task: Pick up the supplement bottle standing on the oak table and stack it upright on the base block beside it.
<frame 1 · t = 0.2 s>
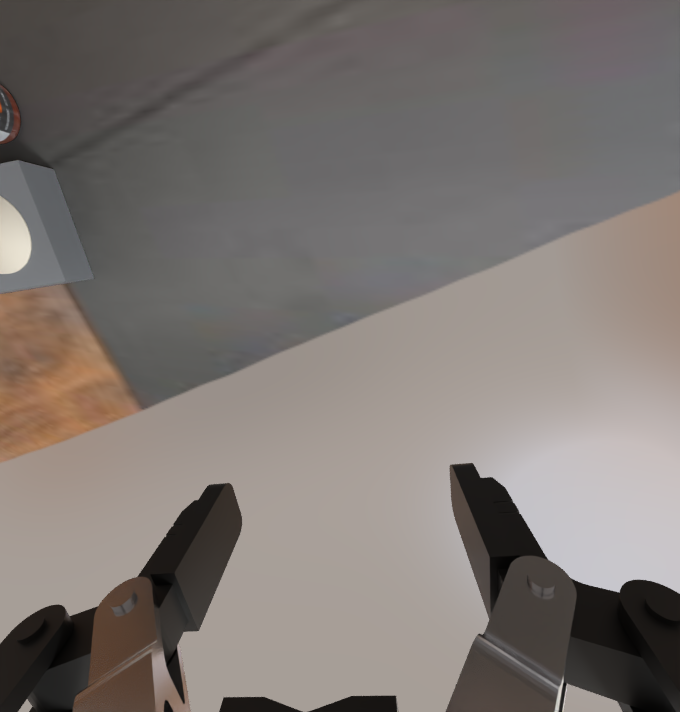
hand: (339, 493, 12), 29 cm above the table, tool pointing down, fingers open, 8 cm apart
base block: (29, 234, 39), on the table
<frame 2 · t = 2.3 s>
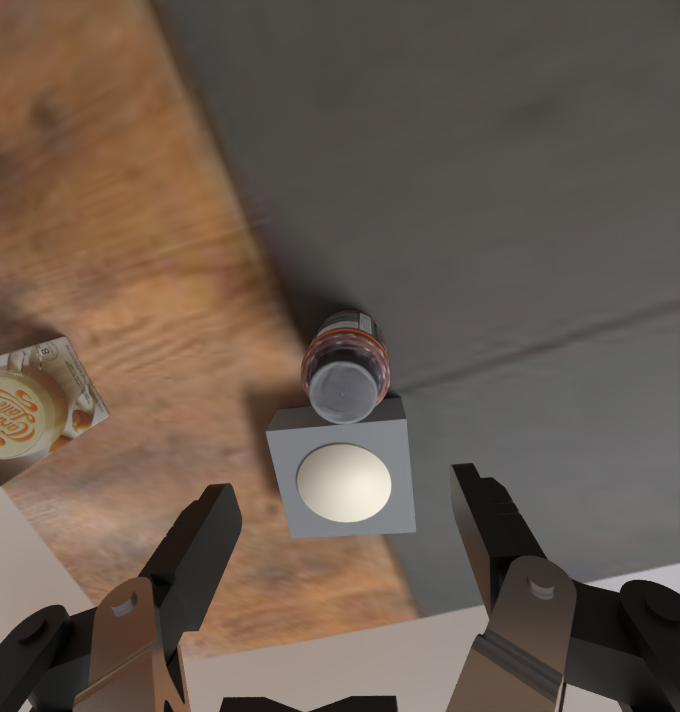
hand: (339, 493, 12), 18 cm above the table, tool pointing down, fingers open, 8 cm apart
coffee box: (66, 383, 33), on the table
base block: (346, 456, 33), on the table
supplement bottle: (350, 340, 29), on the table
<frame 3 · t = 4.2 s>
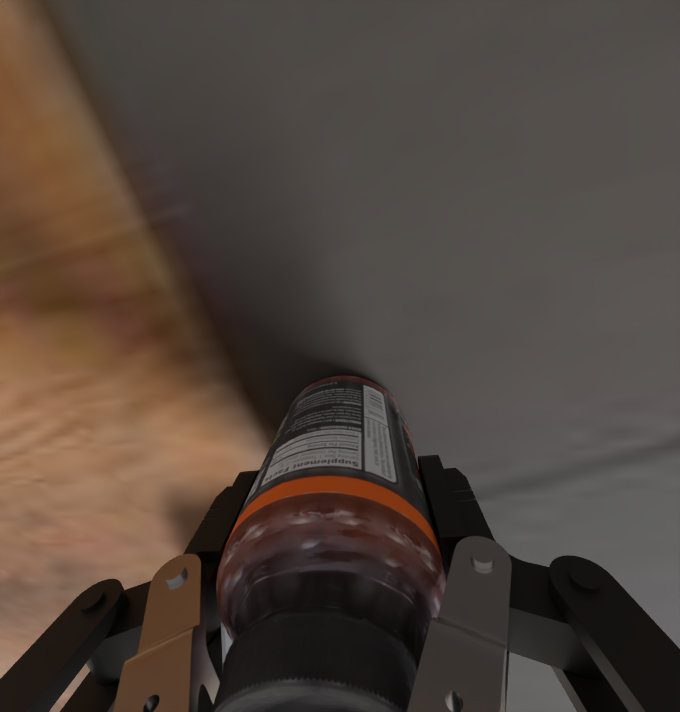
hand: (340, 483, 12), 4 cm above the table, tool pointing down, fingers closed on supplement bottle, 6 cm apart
supplement bottle: (345, 423, 16), on the table, touching gripper
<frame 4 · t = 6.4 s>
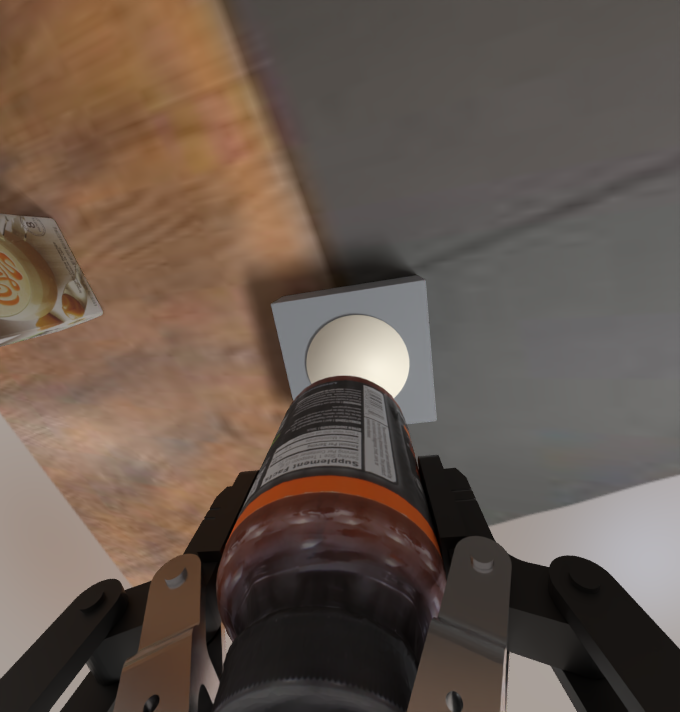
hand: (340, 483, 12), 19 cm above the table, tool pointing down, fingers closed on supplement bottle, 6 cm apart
coffee box: (56, 277, 31), on the table
base block: (358, 350, 31), on the table
supplement bottle: (345, 423, 16), point 15 cm above the table, touching gripper
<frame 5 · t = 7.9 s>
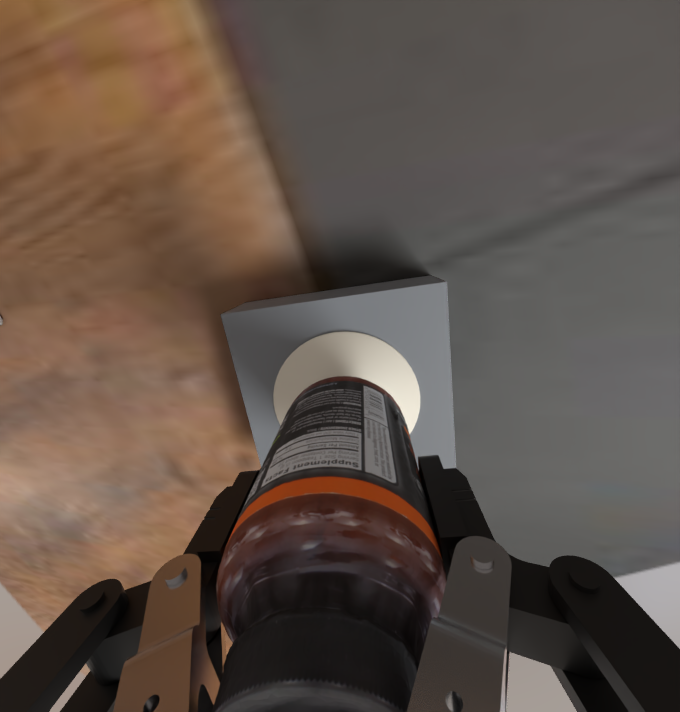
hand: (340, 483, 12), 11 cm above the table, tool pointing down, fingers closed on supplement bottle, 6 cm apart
base block: (348, 375, 23), on the table
supplement bottle: (345, 424, 16), point 7 cm above the table, touching gripper
when the fingers open (9 cm above the table, at t = 8.8 s): supplement bottle stays where it is, resting on base block.
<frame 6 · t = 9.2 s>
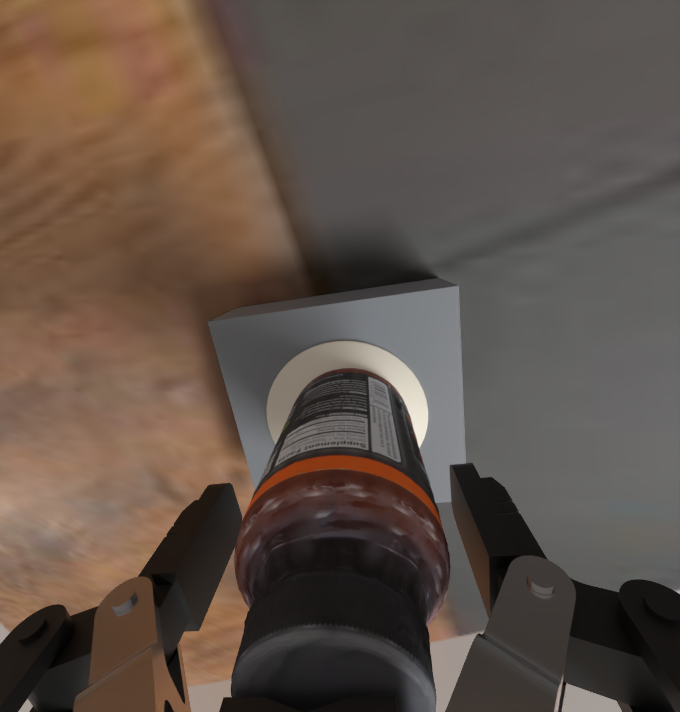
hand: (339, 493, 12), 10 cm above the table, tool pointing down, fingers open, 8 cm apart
base block: (349, 386, 21), on the table
supplement bottle: (350, 415, 17), point 4 cm above the table, touching base block
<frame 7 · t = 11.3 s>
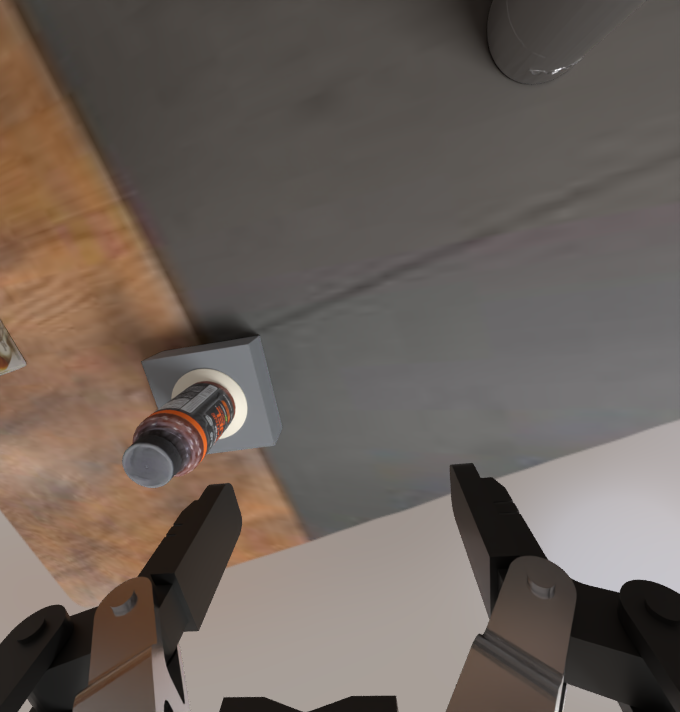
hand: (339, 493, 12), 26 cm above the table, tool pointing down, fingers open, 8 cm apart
base block: (224, 390, 40), on the table
supplement bottle: (211, 403, 36), point 4 cm above the table, touching base block
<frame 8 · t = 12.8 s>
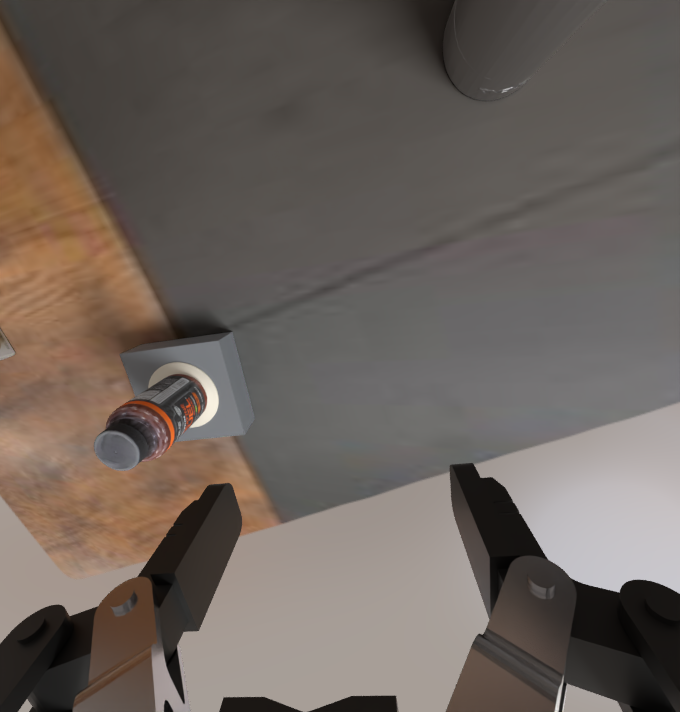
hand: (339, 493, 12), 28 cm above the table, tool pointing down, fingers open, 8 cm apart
base block: (199, 382, 42), on the table
supplement bottle: (185, 394, 38), point 4 cm above the table, touching base block
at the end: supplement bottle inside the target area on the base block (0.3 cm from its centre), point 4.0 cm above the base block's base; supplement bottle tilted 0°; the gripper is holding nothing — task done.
